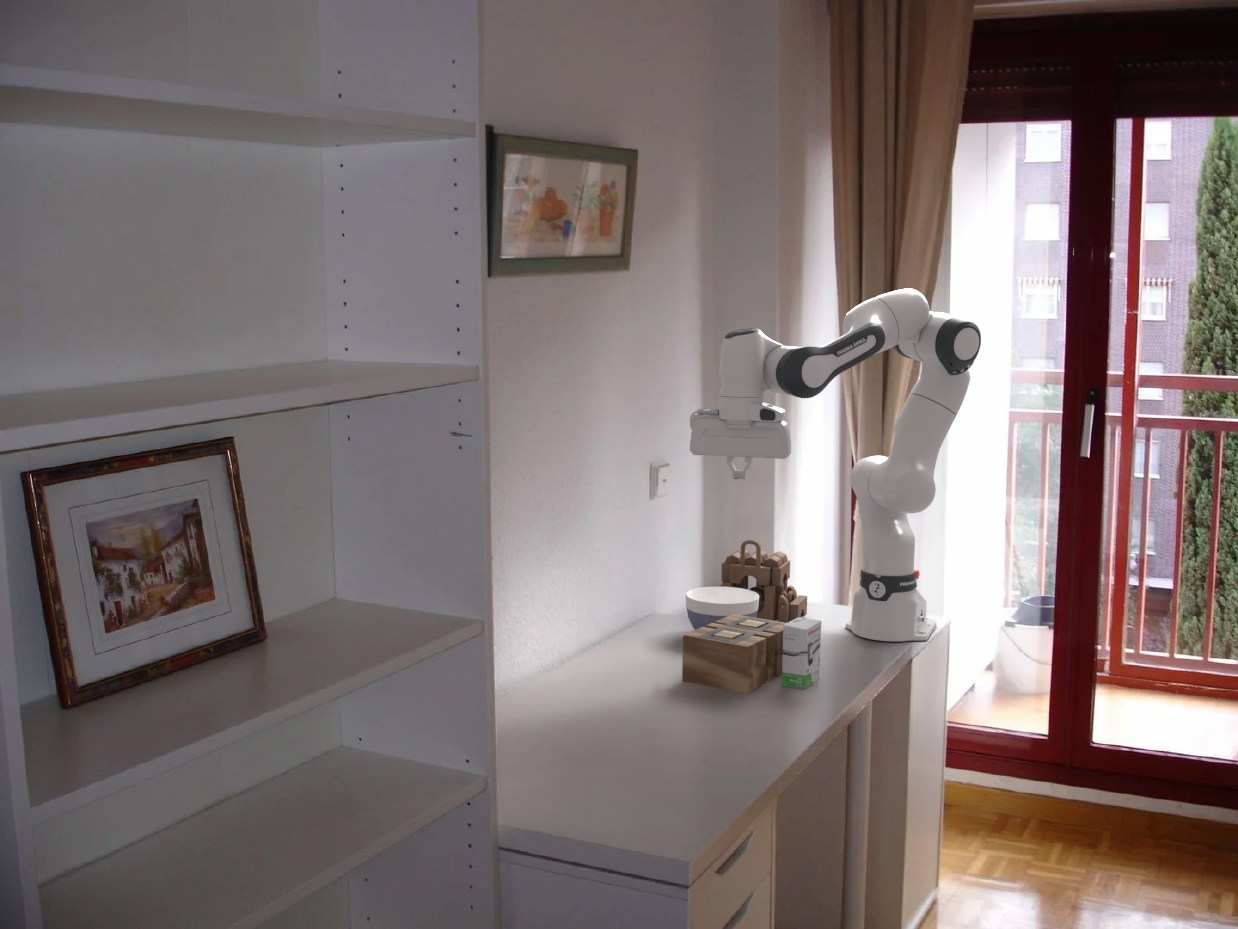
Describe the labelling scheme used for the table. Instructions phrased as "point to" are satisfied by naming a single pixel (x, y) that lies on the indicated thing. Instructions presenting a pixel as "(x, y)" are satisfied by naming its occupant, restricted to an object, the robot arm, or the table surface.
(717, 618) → the bowl
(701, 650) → the socket block
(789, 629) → the ink box
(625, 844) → the table surface
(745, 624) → the peg
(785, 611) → the wooden puzzle
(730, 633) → the peg
